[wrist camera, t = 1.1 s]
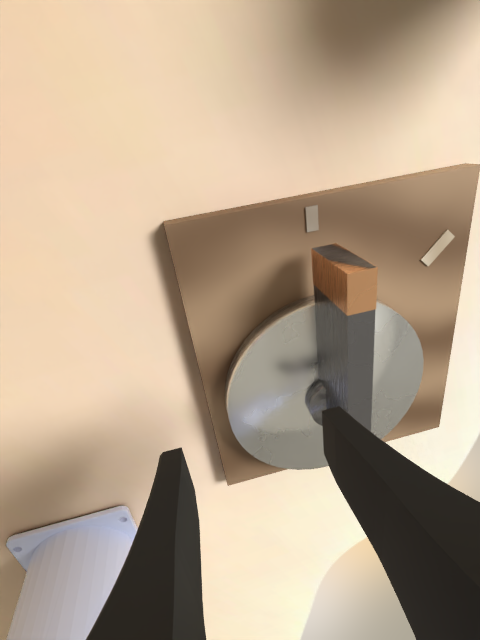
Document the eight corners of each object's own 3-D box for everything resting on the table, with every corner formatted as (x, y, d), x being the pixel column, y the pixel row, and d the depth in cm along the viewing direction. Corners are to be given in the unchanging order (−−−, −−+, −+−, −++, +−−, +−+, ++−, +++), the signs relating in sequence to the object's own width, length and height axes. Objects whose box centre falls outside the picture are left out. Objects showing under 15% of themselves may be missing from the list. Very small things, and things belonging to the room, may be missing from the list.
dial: (404, 429, 26) (453, 486, 21) (240, 474, 24) (257, 545, 20) (424, 216, 18) (503, 239, 14) (194, 264, 17) (207, 304, 13)
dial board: (429, 417, 27) (439, 427, 26) (225, 473, 26) (228, 486, 25) (465, 163, 19) (482, 164, 18) (163, 221, 17) (164, 226, 16)
